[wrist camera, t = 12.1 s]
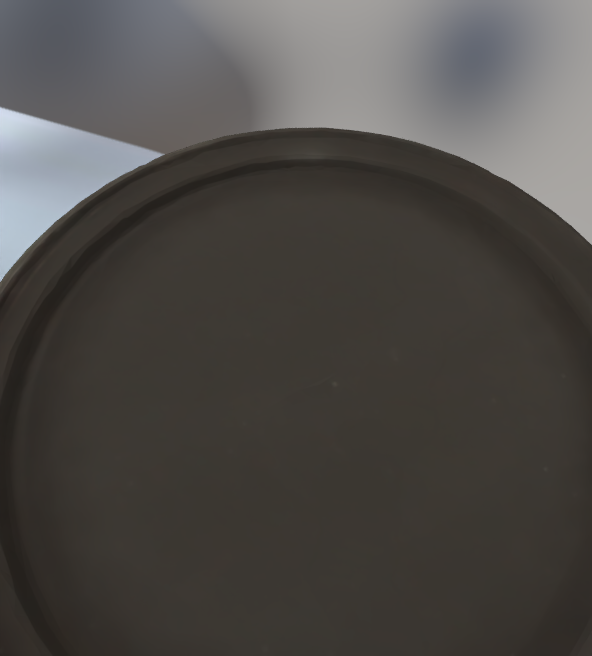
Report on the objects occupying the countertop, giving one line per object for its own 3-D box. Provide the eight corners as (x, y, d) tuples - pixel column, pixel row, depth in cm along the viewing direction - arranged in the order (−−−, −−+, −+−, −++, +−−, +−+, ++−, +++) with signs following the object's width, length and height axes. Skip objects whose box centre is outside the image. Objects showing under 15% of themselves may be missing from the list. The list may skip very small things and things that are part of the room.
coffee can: (302, 345, 22) (323, 50, 10) (481, 518, 19) (851, 400, 7) (112, 504, 19) (-215, 360, 7) (290, 749, 16) (309, 1401, 3)
